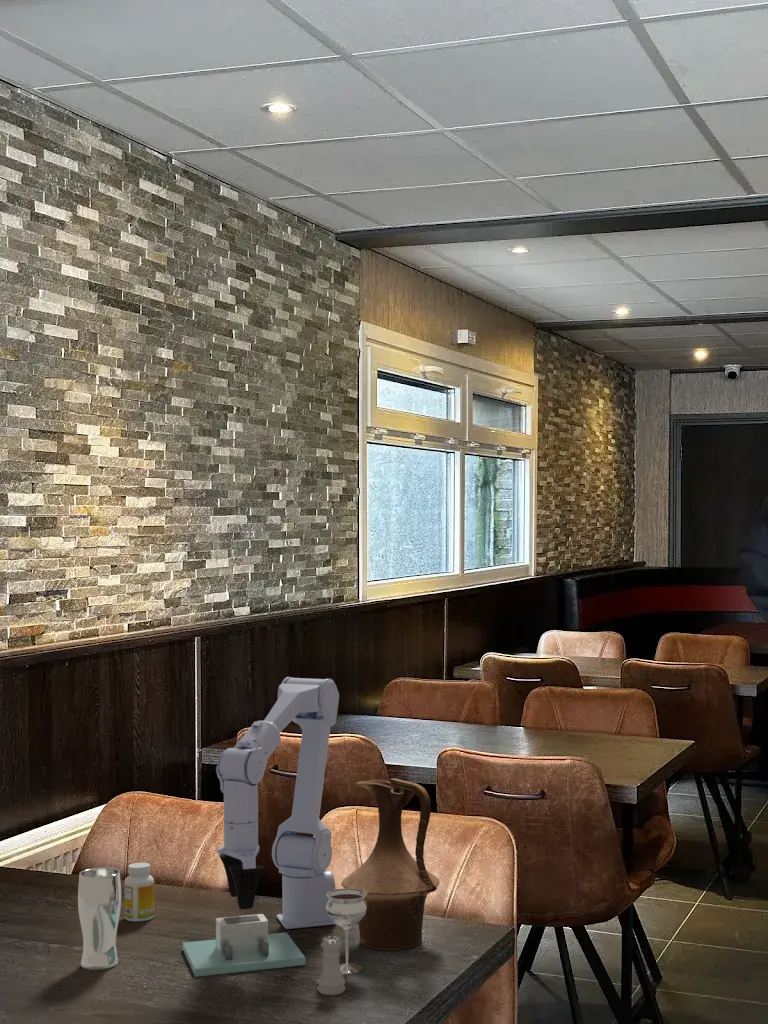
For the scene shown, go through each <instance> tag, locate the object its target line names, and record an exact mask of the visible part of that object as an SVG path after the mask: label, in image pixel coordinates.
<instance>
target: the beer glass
mask: <svg viewBox="0 0 768 1024" xmlns="http://www.w3.org/2000/svg"><path fill="white" fill-rule="evenodd" d="M78 877H79V878H78V889H77V890H78V891H77V906H78V907H77V909H78V916H79V923H80V928H81V934H82V941H83V942H82V943H83V944H82V948H83V949H82V955H81V960H80V966H81V968H82V969H84V970H89V971H103V970H109V969H112V968H114V967H116V966H118V965H119V962H120V961H119V955H118V950H117V948H118V947H117V934H118V928H119V921H120V918H121V917H120V915H121V908H122V883H121V870H120V869H118V868H115V867H109V866H107V867H106V866H103V867H101V866H100V867H92V868H87V869H84V870H82V871H80V872H79V875H78Z"/></svg>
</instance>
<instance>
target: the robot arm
mask: <svg viewBox="0 0 768 1024" xmlns="http://www.w3.org/2000/svg"><path fill="white" fill-rule="evenodd" d="M339 701H340V693H339V690H338V686H337V685H336V683H335V681H334V680H333V679H332V678H325V679H324V678H303V677H301V678H300V677H293V676H286V677H285V678H284V679H283V680H282V681H281V683H280V684H279V685H278V687H277V700H276V702H275V703H274V705H273V706H272V707H271V709H270V711H269V712H268V714H267V715H266V717H265V718H264V720H257V721H254V722H253V723H252V724H251V726H250V727H249V728H248V730H247V731H246V732H245V734H244V735H242V737H241V739H239V741H238V742H237V743H236V744H235V745H234V747H228V748H227V749H225V750H224V751H222V752H221V753H220V755H219V757H218V760H217V765H216V767H215V771H216V777H217V778H218V779H219V783H220V784H219V786H220V791H221V793H222V794H223V846H218V847H216V852H217V854H218V857H219V858H220V860H221V863H222V865H223V868H224V870H225V875H226V879H227V885H228V886H227V887H228V890H229V893H230V897H231V898H235V897H236V898H237V900H236V901H237V905H238V908H239V910H250V909H253V908H254V907H253V906H254V903H255V900H256V899H255V898H256V893H257V888H258V884H259V882H260V879H261V877H262V875H263V873H264V870H265V866H264V865H262V864H261V865H257V864H256V863H257V862H256V861H257V860H256V858H257V856H258V854H259V852H260V845H259V782H260V781H262V780H263V778H264V775H265V770H266V767H267V765H268V762H269V761H268V759H269V758H270V757H271V755H272V754H273V752H274V751H276V749H277V748H278V746H279V745H280V743H281V740H282V738H281V734H280V733H281V732H282V731H284V729H285V728H286V727H287V726H289V724H290V723H291V722H293V723H294V724H297V725H298V726H299V727H300V729H301V738H300V739H301V740H300V745H299V746H300V748H299V755H298V761H297V771H296V777H295V786H294V793H293V794H294V795H293V802H292V808H291V816H290V817H289V818H287V819H286V820H285V821H284V822H282V823H280V824H279V825H278V826H277V827H278V828H277V833H276V836H275V840H274V841H273V844H272V847H271V848H272V849H271V858H272V862H273V864H274V866H275V867H276V868H277V869H278V873H279V874H281V876H282V877H281V880H282V881H281V883H282V884H281V886H282V887H281V888H282V892H281V893H282V897H281V898H282V901H281V902H282V913H278V914H276V918H277V919H278V921H279V922H280V923H281V924H282V926H283V927H284V928H285V930H292V929H301V928H309V927H310V928H311V927H321V926H330V925H336V924H335V923H334V922H333V921H332V920H331V919H330V918H329V917H328V914H327V912H326V905H327V901H328V900H329V899H328V897H327V895H326V894H327V893H328V892H329V891H332V890H336V881H335V876H334V874H333V871H331V870H327V869H328V868H329V866H330V864H331V862H332V858H333V849H332V831H331V830H330V829H329V828H328V827H327V825H326V824H325V823H324V822H323V821H322V820H321V819H320V815H321V807H322V797H323V791H324V783H325V775H326V765H327V758H328V757H327V756H328V749H329V740H330V734H331V728H332V727H333V726H334V725H336V723H337V716H338V709H339ZM299 834H309V836H308V835H299ZM310 835H313V836H310Z"/></svg>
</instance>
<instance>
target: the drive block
mask: <svg viewBox="0 0 768 1024" xmlns="http://www.w3.org/2000/svg"><path fill="white" fill-rule="evenodd" d="M268 934H269V920H268V919H267V917H266V916H265V915H264V914H263V913H257V914H246V915H236V916H225V917H216V918H215V939H216V949H217V951H218V953H219V955H220V957H221V956H225V946H228V945H231V946H233V955H240V954H249V953H259V952H261V943H262V942H268Z"/></svg>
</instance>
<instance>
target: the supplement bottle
mask: <svg viewBox="0 0 768 1024" xmlns="http://www.w3.org/2000/svg"><path fill="white" fill-rule="evenodd" d="M127 872H128V874H129V875H128V876H127V877H125V879H124V919H125V920H126V921H129V922H132V923H133V922H134V923H138V922H139V923H140V922H146V921H150V920H152V919H153V918H155V917H154V916H155V879H154V877H153V876H152V875H151V874H150V873H151V864H150V863H148V862H135V863H130V864H129V865H128V868H127Z"/></svg>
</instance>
